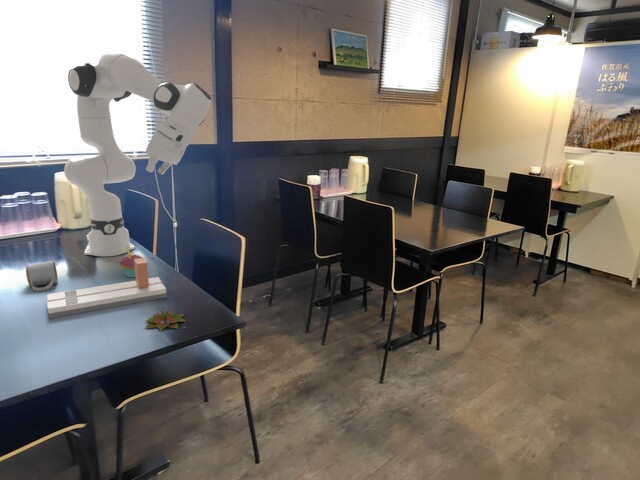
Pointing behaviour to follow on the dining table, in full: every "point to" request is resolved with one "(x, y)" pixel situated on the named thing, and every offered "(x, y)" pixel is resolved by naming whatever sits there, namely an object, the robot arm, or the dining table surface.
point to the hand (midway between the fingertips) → (154, 172)
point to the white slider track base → (103, 297)
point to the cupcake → (129, 264)
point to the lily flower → (169, 316)
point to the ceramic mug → (42, 275)
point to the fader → (141, 272)
